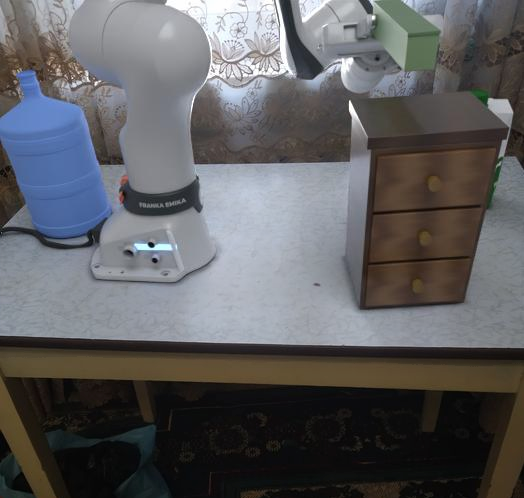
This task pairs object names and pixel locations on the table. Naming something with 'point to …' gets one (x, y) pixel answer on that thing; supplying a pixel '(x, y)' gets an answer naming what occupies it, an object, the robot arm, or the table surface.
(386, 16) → the storage box
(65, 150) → the water jug
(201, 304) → the table surface
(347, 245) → the drawer unit
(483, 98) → the milk carton
